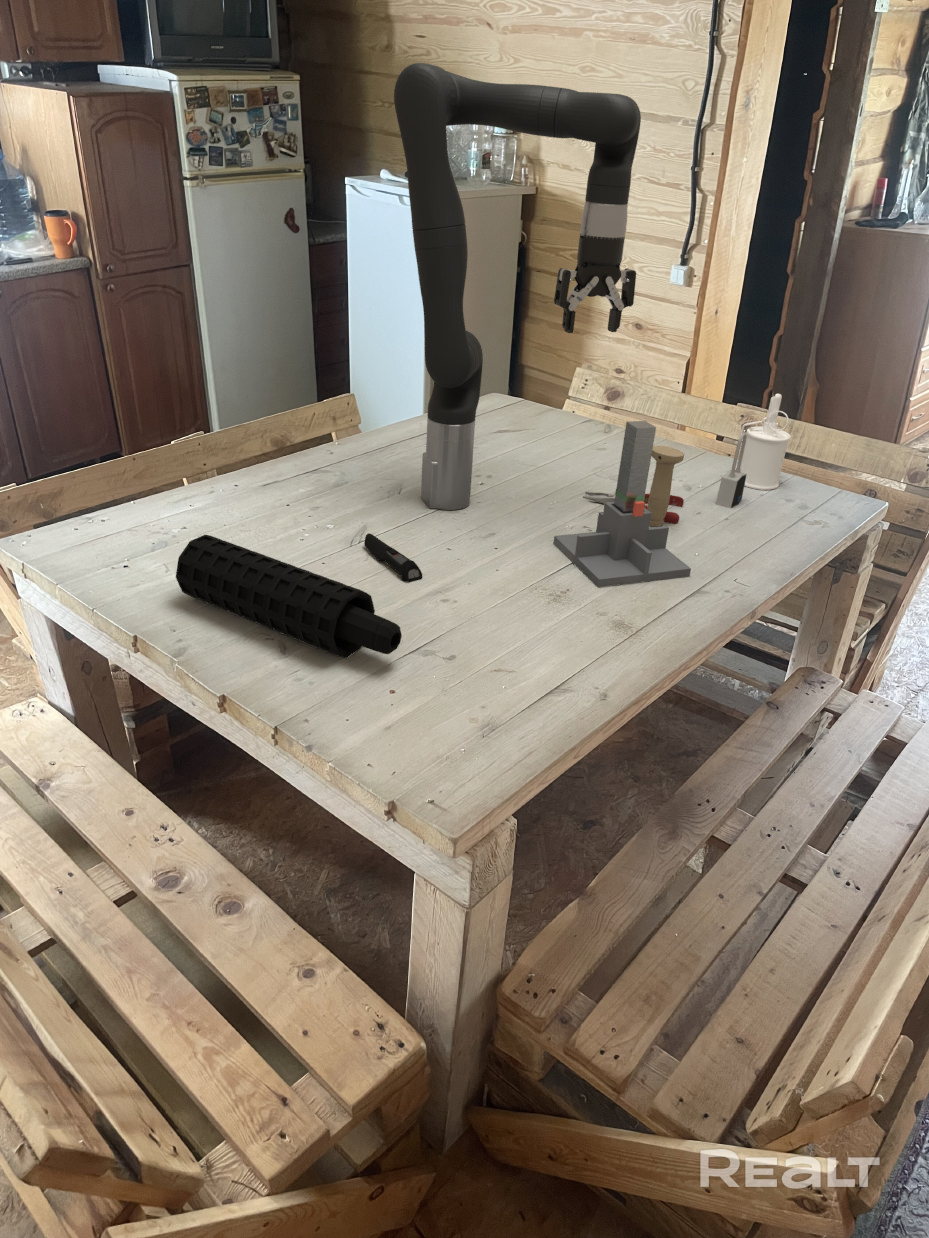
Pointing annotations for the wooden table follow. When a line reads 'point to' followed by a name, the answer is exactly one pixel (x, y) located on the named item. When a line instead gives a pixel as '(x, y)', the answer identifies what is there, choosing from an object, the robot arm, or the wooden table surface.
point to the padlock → (733, 480)
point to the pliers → (673, 501)
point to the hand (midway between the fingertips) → (590, 331)
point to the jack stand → (623, 549)
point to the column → (634, 465)
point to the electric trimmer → (393, 559)
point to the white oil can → (765, 450)
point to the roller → (284, 598)
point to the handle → (662, 482)
